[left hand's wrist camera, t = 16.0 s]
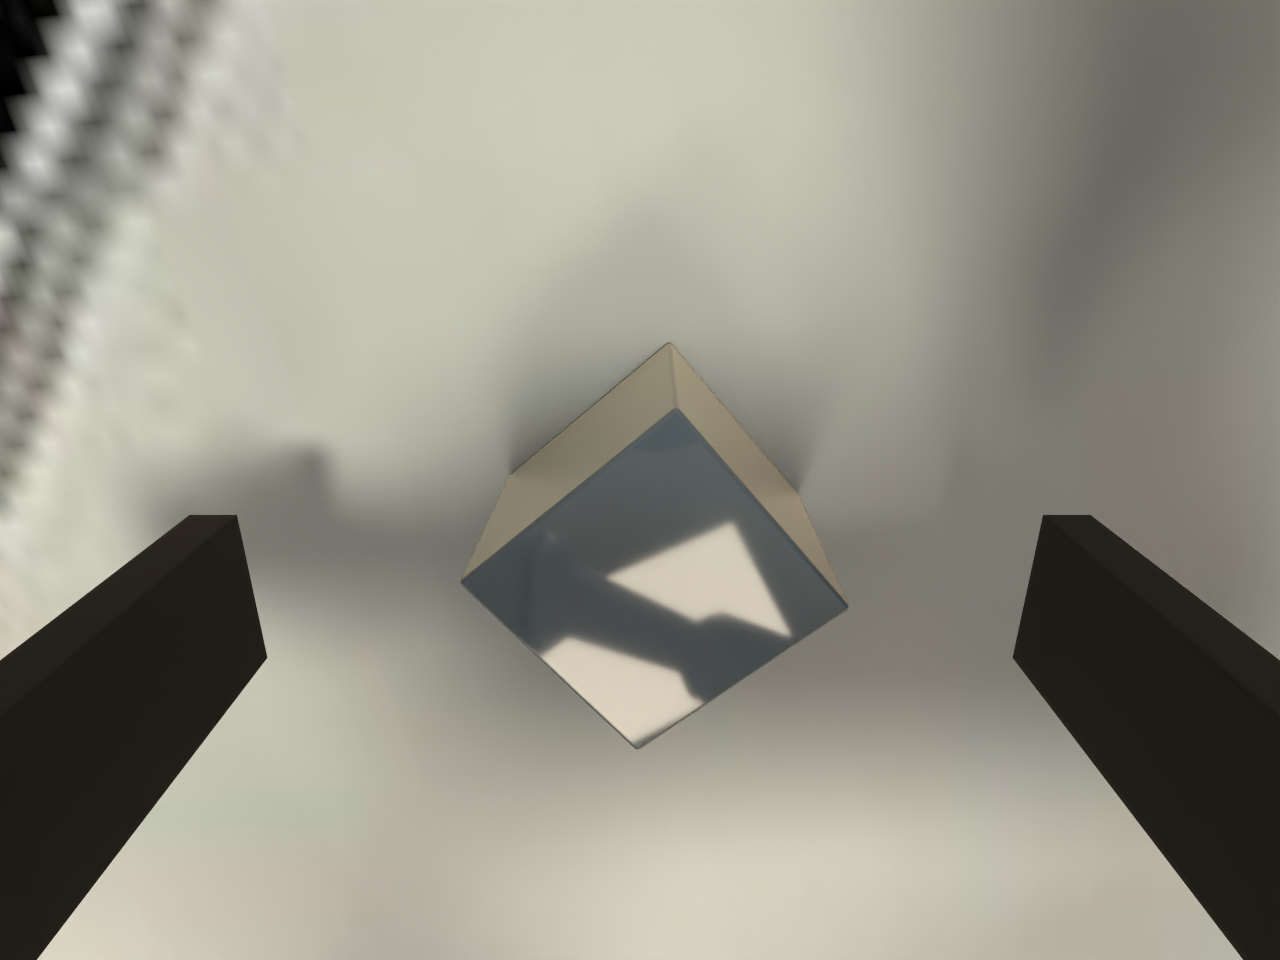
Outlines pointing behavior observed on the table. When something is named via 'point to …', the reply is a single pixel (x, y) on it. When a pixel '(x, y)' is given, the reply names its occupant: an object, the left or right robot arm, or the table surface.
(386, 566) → the table surface
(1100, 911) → the table surface
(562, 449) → the brick
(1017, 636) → the left robot arm
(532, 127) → the table surface
